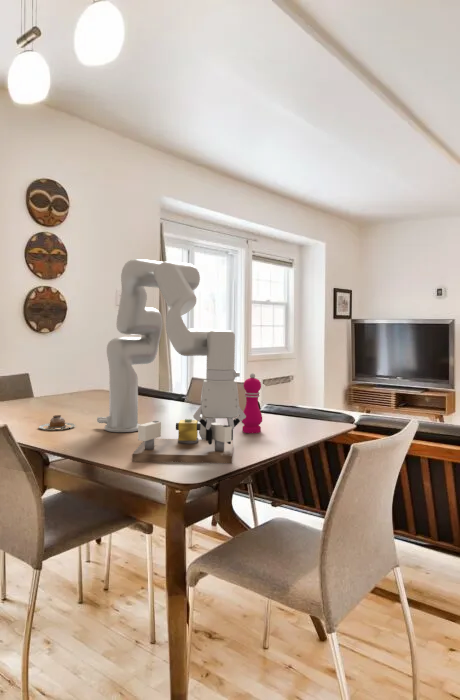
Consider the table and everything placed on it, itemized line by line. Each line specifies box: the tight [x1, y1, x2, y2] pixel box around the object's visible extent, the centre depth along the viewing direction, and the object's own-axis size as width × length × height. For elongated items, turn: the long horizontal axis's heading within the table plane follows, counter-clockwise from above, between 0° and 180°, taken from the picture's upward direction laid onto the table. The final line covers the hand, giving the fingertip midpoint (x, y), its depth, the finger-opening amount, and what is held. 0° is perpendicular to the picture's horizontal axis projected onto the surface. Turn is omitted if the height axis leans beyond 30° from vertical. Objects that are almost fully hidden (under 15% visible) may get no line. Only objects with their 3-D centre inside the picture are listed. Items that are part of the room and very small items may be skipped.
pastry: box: [38, 414, 76, 431], centre depth 173 cm, size 12×12×5 cm
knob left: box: [137, 420, 162, 450], centre depth 136 cm, size 7×3×7 cm, turn 153°
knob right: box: [211, 422, 232, 451], centre depth 136 cm, size 7×3×7 cm, turn 41°
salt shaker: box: [198, 416, 217, 440], centre depth 158 cm, size 6×6×13 cm
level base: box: [131, 418, 234, 464], centre depth 140 cm, size 26×19×9 cm
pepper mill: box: [241, 373, 263, 434], centre depth 171 cm, size 7×7×20 cm
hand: (219, 442), depth 136 cm, fingers closed on knob right, 4 cm apart
